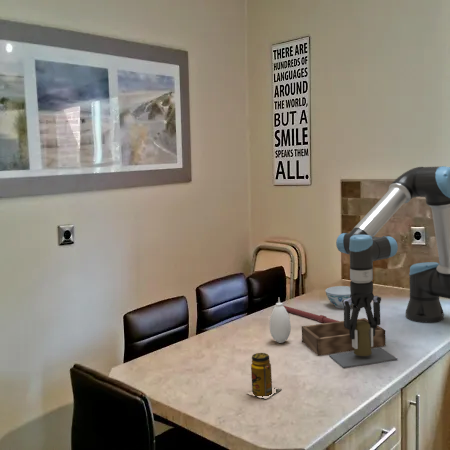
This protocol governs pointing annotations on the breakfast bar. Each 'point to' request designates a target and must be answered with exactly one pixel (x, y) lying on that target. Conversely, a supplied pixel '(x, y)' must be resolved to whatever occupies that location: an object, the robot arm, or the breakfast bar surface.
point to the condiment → (261, 375)
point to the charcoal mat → (362, 358)
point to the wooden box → (335, 337)
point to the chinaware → (338, 295)
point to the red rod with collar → (310, 315)
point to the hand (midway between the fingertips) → (362, 346)
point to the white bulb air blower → (280, 323)
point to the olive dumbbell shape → (363, 339)
